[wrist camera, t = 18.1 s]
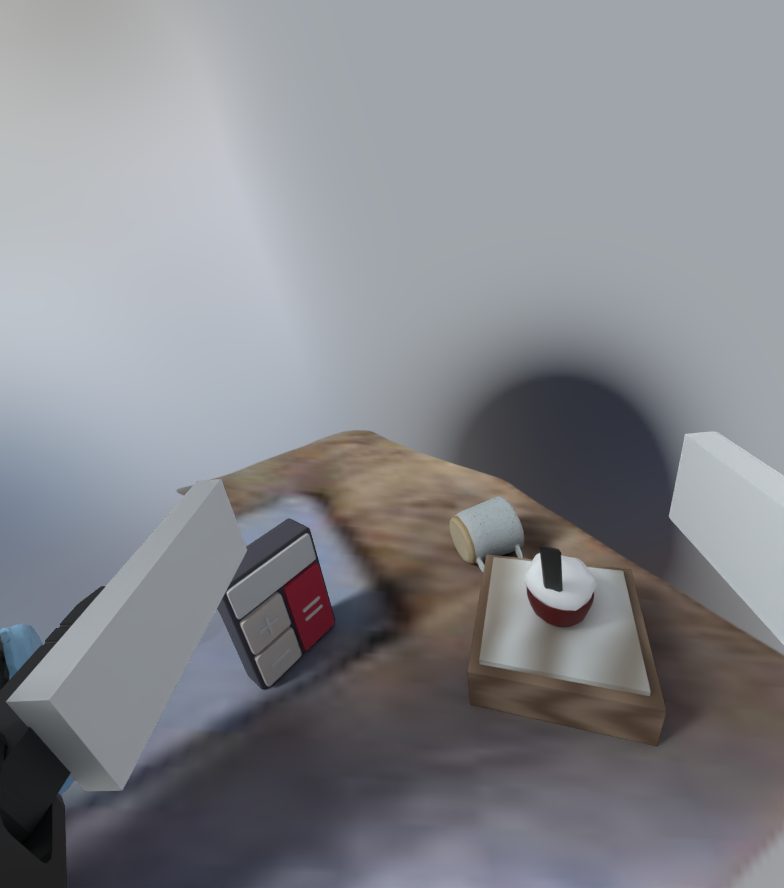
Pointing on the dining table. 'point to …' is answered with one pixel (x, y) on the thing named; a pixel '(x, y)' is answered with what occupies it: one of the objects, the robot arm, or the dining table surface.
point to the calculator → (277, 602)
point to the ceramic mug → (487, 531)
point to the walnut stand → (566, 657)
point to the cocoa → (559, 588)
